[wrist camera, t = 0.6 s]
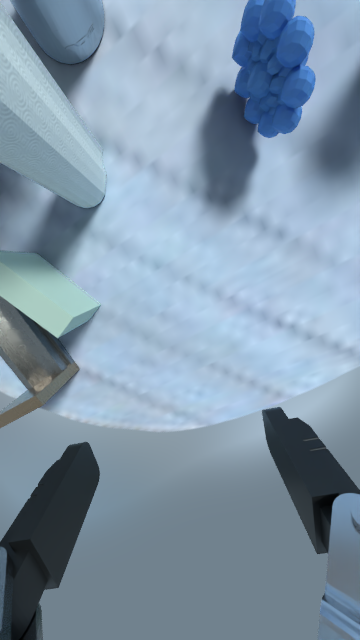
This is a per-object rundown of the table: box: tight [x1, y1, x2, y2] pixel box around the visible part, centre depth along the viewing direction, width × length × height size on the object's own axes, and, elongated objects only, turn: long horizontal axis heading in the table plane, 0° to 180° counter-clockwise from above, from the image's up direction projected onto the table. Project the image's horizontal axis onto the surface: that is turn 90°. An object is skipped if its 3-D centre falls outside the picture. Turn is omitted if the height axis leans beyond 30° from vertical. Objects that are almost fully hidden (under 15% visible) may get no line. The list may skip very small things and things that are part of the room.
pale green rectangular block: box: [0, 250, 101, 338], centre depth 30 cm, size 12×4×9 cm, turn 49°
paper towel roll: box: [0, 3, 107, 208], centre depth 20 cm, size 7×6×21 cm
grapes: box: [232, 0, 315, 138], centre depth 22 cm, size 12×7×12 cm, turn 29°
